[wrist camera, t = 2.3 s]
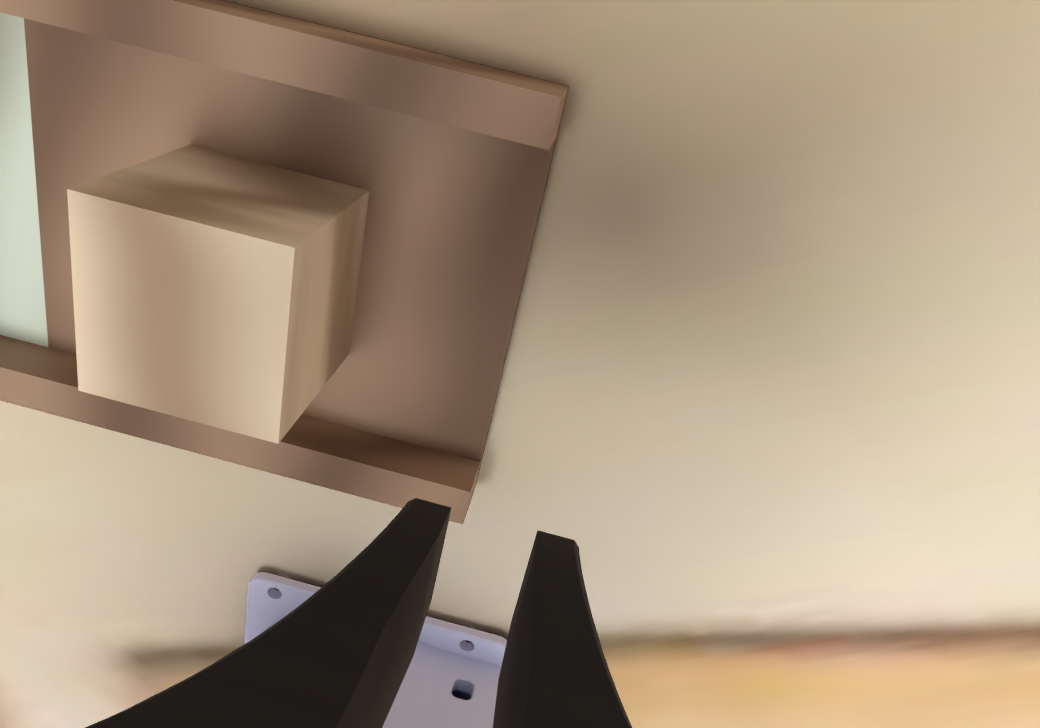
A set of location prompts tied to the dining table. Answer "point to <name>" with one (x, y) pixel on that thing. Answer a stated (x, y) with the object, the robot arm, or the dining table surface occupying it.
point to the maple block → (214, 287)
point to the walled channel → (305, 149)
